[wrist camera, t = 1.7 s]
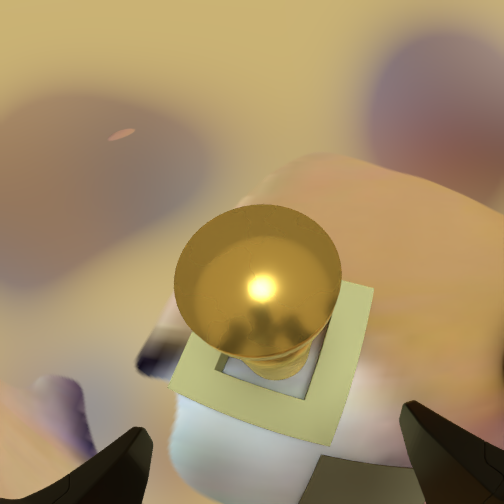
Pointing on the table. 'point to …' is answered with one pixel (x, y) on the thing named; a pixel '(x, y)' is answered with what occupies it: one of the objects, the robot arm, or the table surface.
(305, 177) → the table surface
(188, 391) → the housing
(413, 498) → the mat
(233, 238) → the brass cover
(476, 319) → the table surface
